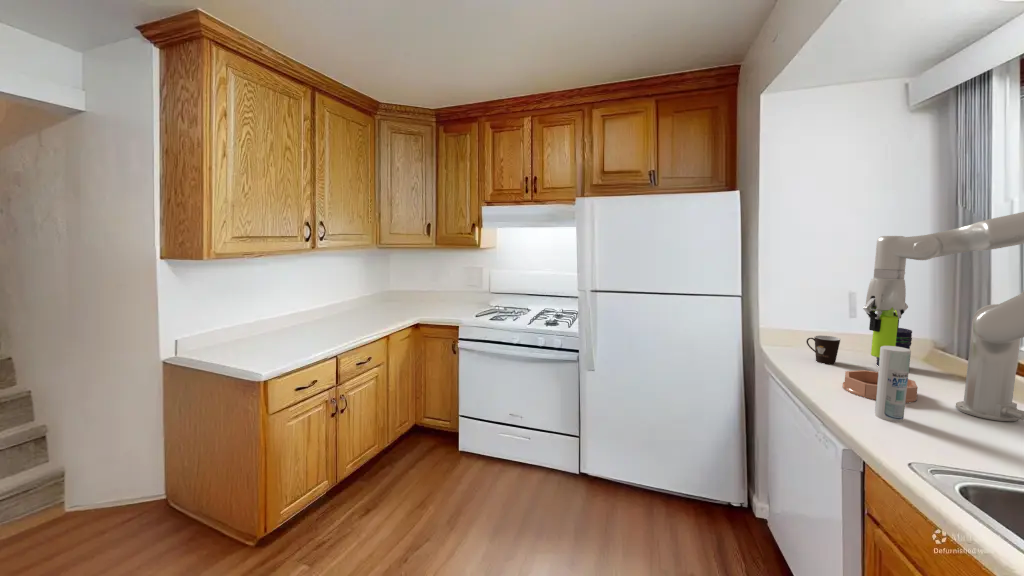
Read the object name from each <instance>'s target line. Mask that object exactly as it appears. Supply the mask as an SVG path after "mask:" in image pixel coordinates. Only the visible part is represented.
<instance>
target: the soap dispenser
mask: <svg viewBox="0 0 1024 576" xmlns="http://www.w3.org/2000/svg"><path fill="white" fill-rule="evenodd" d="M894 312H895V311H894V308H893V307H892V308H891V309H890V310H887V311H882V314H881V316H880V318H879V319H880V320H881V326H880V332H876V331H872V340H871V349H870V350H871V351H870V355H871V356H872V357H875V358H876V357H879V358H880V347H881V346H896V336H897V327H898V317H896V316H893V315H894ZM898 328H899V327H898Z"/></svg>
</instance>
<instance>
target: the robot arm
mask: <svg viewBox="0 0 1024 576" xmlns="http://www.w3.org/2000/svg"><path fill="white" fill-rule="evenodd" d="M1020 245H1024V211H1021V212H1017V213H1012V214H1008V215H1003V216H1002V215H1001V216H999V217H994V218H989V219H984V220H981V221H976V222H974V223H972V224H969V225H965V226H962V227H957V228H953V229H949V230H944V231H939V232H934V233H929V234H921V235H915V236H914V235H913V236H903V235H882V236H880V237H879V236H878V238H877V240H876V245H875V246H876V247H875V258H874V260H875V261H874V269H873V278H871V279H870V282H869V284H868V287H867V293H866V299H865V305H864V306H863V307H862V310H863V311H865V312H866V315H867V316H868V318H869V327H868V329H869V331H872V332H873V331H876V332H880V326H881V320H880V319H879V318H880V316H881V314H882V311H887V310H890V309H891V308H892V307H893V308H894V315H893V316H896V317H898V327H897V331H898V328H900V327H899V326H900V325H899V324H900V319H902V315H904V313H905V311H906V310H907V309H908V308H909V306H908V304H907V303H906V295H907V293H906V288H907V287H906V279H905V275H906V265H907V263H906V262H907V259H909V260H915V261H927V260H928V261H929V260H931V259H935V258H940V257H945V256H950V255H956V254H961V253H962V254H963V253H968V252H976V251H977V252H978V251H991V250H997V249H1003V248H1009V247H1013V246H1020ZM1023 338H1024V290H1023V291H1022V292H1021V293H1020V294H1018V295H1015V296H1014V297H1011V298H1010V299H1007V300H1006V301H1003V302H1000V303H996V304H995V303H994V304H988V305H985V306H982V307H980V308H979V309H978V310H977V311H976V312H975V313H974V315H973V317H972V322H971V336H970V345H969V352H968V353H969V354H968V360H967V367H966V376H965V377H966V378H965V387H964V392H963V393H964V395H963V401H958V402H956V403H955V409H957V410H958V411H960V412H962V413H964V414H967V415H969V416H974V417H977V418H981V419H986V420H991V421H992V420H993V421H996V422H997V421H999V422H1016V421H1018V420H1022V421H1024V410H1022V409H1019V408H1017V407H1018V403H1017V402H1013V400H1014V399H1013V398H1014V391H1015V390H1014V389H1015V385H1016V383H1015V382H1016V374H1017V368H1018V362H1019V354H1020V345H1021V339H1023Z"/></svg>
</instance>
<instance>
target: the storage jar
mask: <svg viewBox="0 0 1024 576" xmlns="http://www.w3.org/2000/svg"><path fill="white" fill-rule="evenodd" d="M912 336H913V330H912V329H909V328H908V329H907V328H904V327H898V331H897V336H896V346H897V347H903V348H907V349H909V350H911V346H912V341H913V337H912ZM875 358H876V363H875V365H876V364H877V365H878V366H879V359H880V358H879V357H875ZM878 366H877V367H878Z"/></svg>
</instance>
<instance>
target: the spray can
mask: <svg viewBox="0 0 1024 576" xmlns="http://www.w3.org/2000/svg"><path fill="white" fill-rule="evenodd" d="M911 354H912V351H911V349H910V350H909V349H907V348H903V347H897V346H881V347H880V359H879V367H878V371H877V372H878V383H877V395H876V400H875V409H874V413H875V416H876V417H877V418H879V419H881V420H884V421H888V422H894V423H896V422H897V423H901V422H903V421H904V418H905V409H906V403H905V401H906V392H907V383H908V379H909V372H910V362H911Z"/></svg>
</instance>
